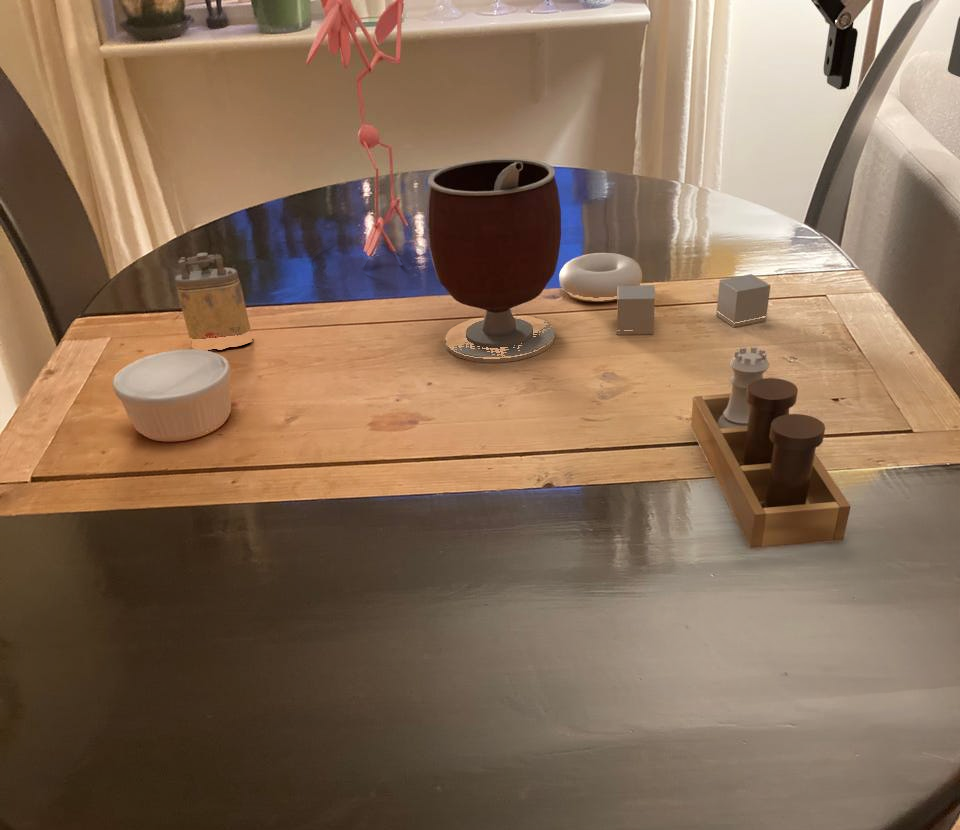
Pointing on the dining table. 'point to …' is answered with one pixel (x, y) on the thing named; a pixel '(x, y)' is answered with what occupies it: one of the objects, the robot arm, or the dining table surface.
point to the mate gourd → (495, 247)
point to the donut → (599, 275)
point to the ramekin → (176, 394)
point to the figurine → (338, 27)
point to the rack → (765, 486)
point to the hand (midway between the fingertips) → (898, 80)
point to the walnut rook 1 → (765, 416)
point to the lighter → (211, 298)
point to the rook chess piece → (742, 386)
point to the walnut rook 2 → (792, 458)
